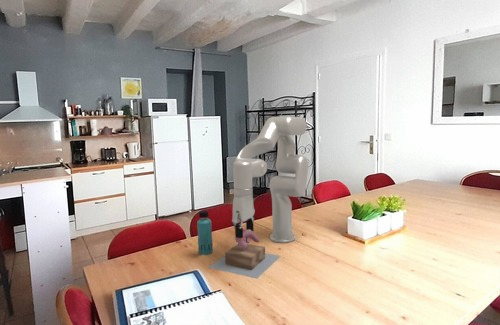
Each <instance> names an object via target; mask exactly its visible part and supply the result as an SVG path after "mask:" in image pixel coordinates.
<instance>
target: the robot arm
mask: <svg viewBox="0 0 500 325" xmlns="http://www.w3.org/2000/svg"><path fill="white" fill-rule="evenodd" d="M307 125H308V124H307V122H306V120H305V118H303V117H298V116H292V115H291V116H290V115H289V116H288V115H286V116H285V115H284V116H282V115H281V116H271V117H268V118H267V119H266V121H265V122H264V125H263V126H262V128H261V130H260V133H259V134H258V136H257V138H255V139H254V140H252V141H251V142H249V143H248V144H246V145H245V146H244V147H243V148H241V150H240V151H239V153H238V155H237V156H236V157H235V160H234V162H233V165H232V169H233V171H232V174H233V200H232V219H231V222H232V225H233V227H234V234H235V237H237V238H243V230H244V228H243V224H244V222H245V227H246V228H245V230H249V229H250V230H251V231H253V232H254V231H255V230H254V221H255V212H256V209H255V207H254V206H255V205H254V197H253V195H254V192H253V191H254V189H253V187H254V186H253V179H254V178H261V177H263V176H264V175H265V174H266V173H267V171H268V164H267V162H266V161H265V160H263V159H261V158H254V157H257V156H259V155H262V154H266V153H268V152H270V151H272V150H273V149H274V148H275V146H276V144H278V147H277V152H276V160H275V169H276V171H277V172H278V173H280V174H284V175H274V176H273V177H272V178H271V179H270V181H269V191H270V195H271V206H272V207H271V209H272V211H271V212H272V233H271V234H270V235H269V240H270V241H272V242H275V243H281V244H283V243H286V244H287V243H291V242H293V241H295V239H296V235H295V234H293V229H294V226H293V224H292V223H293V219H292V218H293V217H292V216H293V215H292V213H293V210H292V206H293V204H292V201H291V199H290V197H293V198H301V197H303V196H304V195H305V192H306V188H307V181H308V180H307V179H308V173H309V162H308V159H307V157H306V156H305V155H304V154H303V155H302V154H296V153H295V152H296V143H295V141H294V139H292V137H291V136H303V135H304V134H305V133H306V131H307V127H308V126H307ZM285 174H287V175H289V176H287V175H285ZM290 175H294V176H290ZM235 237H234V238H235ZM243 239H244V238H243Z"/></svg>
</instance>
